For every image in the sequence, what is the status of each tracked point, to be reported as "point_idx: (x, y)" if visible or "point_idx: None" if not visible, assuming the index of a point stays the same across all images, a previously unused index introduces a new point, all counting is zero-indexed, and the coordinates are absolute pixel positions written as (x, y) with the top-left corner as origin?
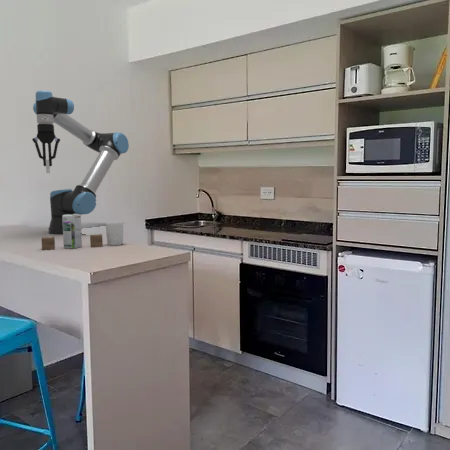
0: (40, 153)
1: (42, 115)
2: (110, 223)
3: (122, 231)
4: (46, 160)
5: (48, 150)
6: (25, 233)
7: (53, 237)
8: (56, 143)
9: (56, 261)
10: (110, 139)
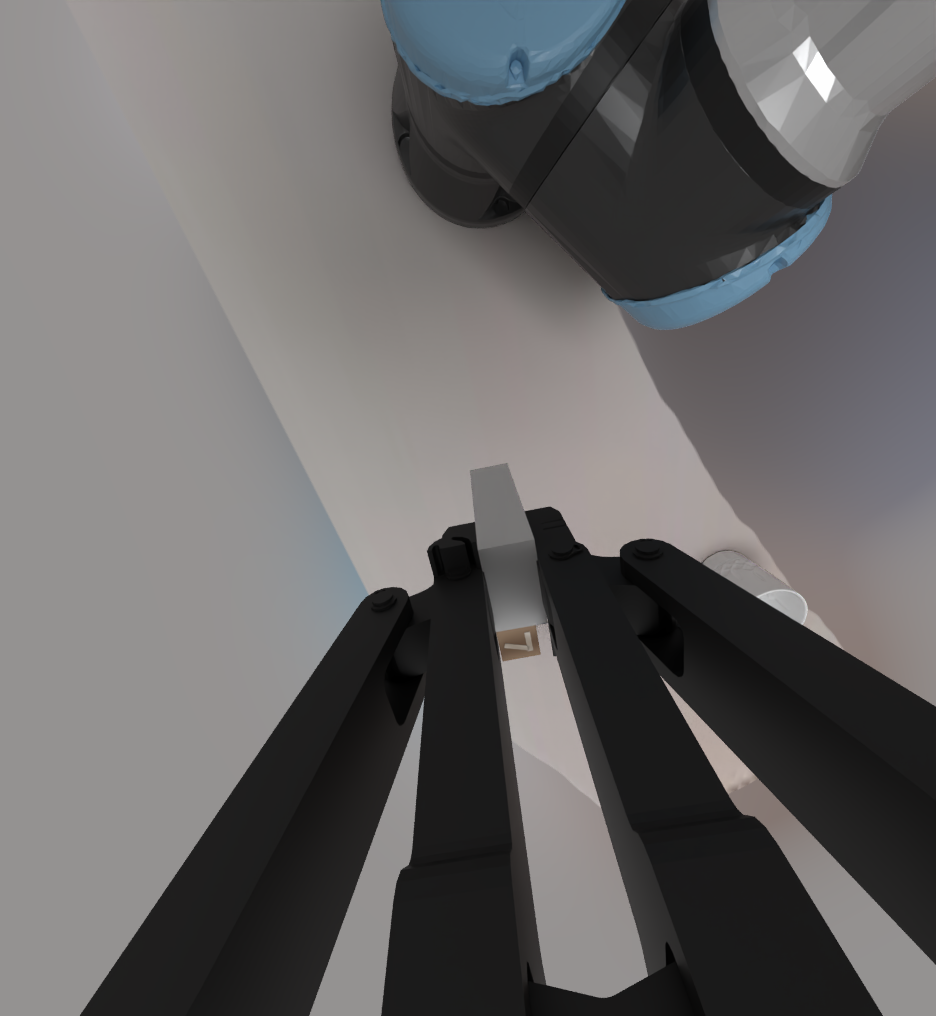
0: (407, 731)
1: None
2: (756, 593)
3: (775, 606)
4: (505, 620)
5: (592, 767)
6: (260, 142)
7: (536, 641)
8: None
9: (566, 760)
10: None
